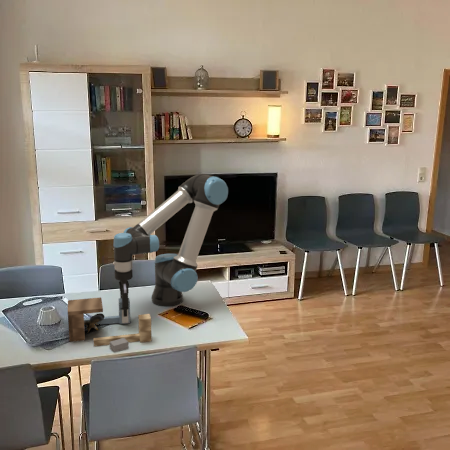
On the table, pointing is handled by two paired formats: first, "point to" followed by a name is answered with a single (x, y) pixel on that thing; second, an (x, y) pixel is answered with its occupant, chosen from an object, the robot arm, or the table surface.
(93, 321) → the eagle figurine
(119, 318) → the crook
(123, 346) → the grey eraser block
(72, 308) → the wooden l bracket
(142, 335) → the plain l-shaped wooden block
